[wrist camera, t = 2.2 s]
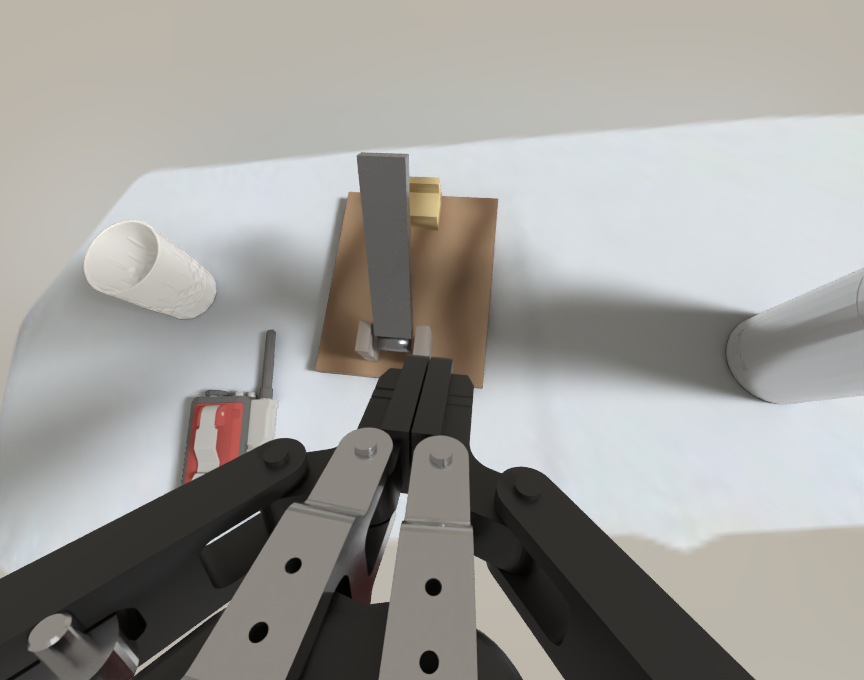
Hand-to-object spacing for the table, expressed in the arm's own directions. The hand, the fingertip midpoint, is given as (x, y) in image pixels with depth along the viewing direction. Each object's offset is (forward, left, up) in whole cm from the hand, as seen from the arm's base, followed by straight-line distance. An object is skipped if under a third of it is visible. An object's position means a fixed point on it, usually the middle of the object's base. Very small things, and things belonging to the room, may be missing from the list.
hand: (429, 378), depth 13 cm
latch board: (+7, -15, -29) cm, 33 cm away
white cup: (+34, -12, -29) cm, 46 cm away
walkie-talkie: (+24, +2, -30) cm, 38 cm away
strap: (+7, -13, -19) cm, 24 cm away
